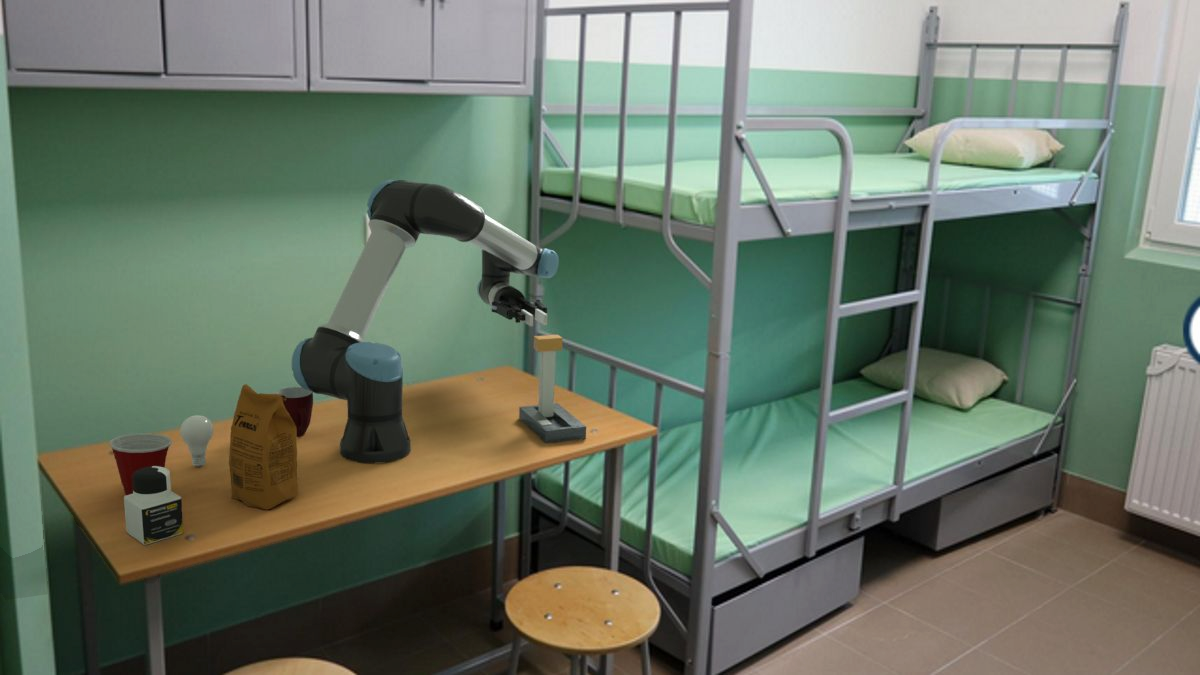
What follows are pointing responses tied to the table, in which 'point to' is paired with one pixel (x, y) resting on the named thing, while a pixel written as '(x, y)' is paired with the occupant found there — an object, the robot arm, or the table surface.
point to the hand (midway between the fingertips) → (538, 320)
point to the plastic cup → (138, 454)
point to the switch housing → (553, 424)
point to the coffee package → (262, 450)
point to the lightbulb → (197, 437)
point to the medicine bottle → (153, 506)
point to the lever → (547, 371)
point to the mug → (298, 407)
